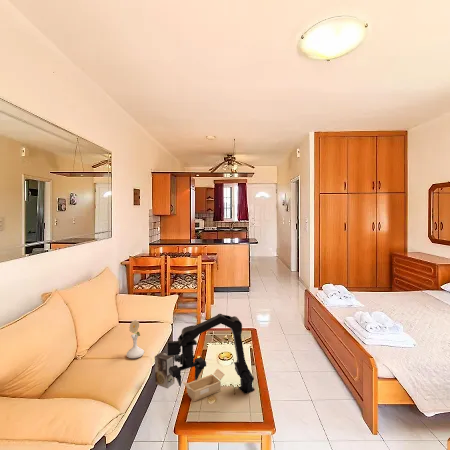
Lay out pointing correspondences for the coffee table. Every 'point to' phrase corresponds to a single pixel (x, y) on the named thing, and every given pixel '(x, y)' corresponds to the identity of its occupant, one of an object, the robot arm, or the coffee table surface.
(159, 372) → the coffee box
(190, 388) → the outer flap
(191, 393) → the carton
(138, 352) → the flower in vase
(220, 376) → the inner flap
